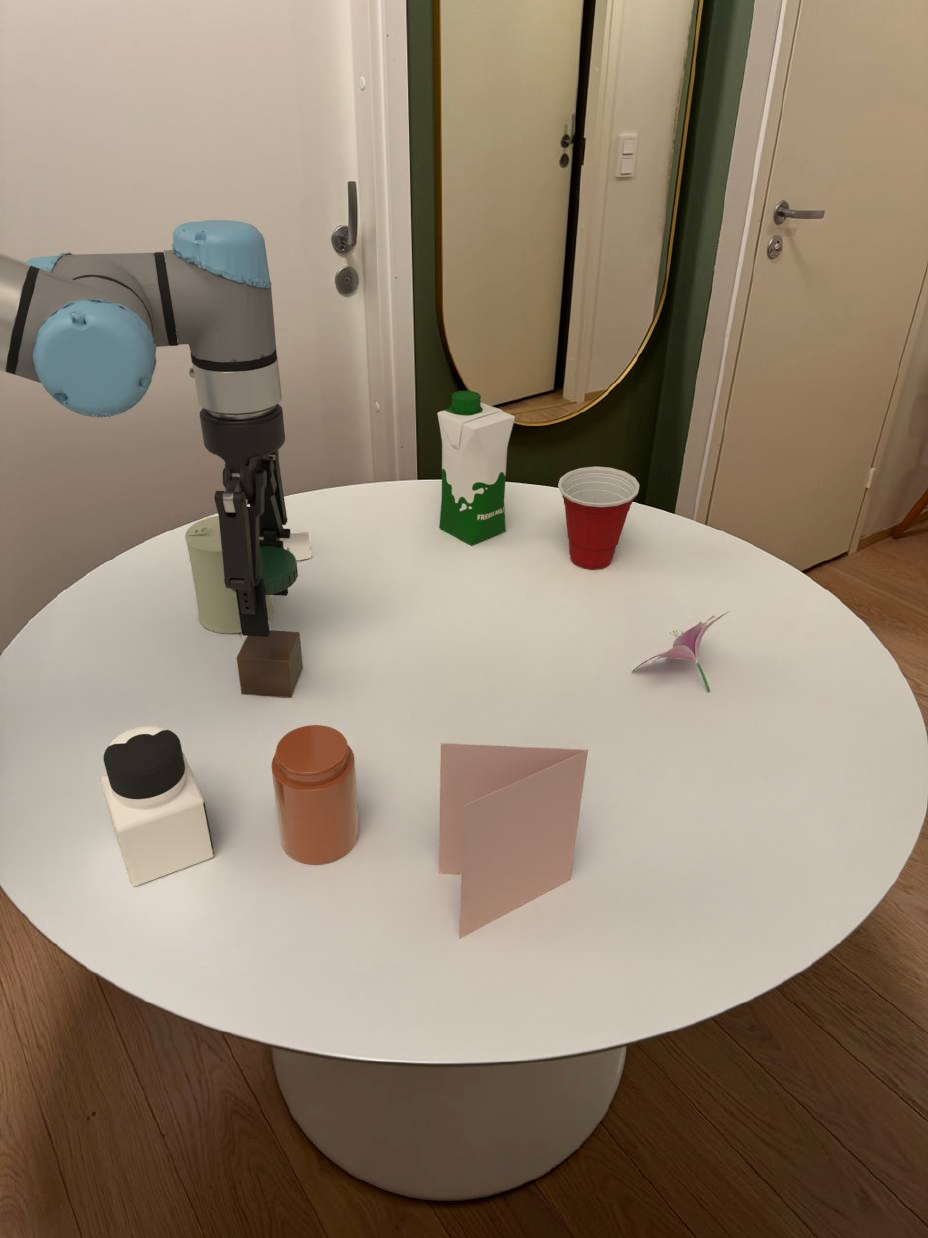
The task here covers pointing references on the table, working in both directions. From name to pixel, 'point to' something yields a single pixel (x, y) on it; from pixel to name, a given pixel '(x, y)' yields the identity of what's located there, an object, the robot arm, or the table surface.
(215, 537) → the can
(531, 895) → the greeting card
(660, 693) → the table surface
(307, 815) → the jar
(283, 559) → the lid
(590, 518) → the plastic cup
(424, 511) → the table surface
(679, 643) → the lily
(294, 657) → the riser
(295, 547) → the white curved plate
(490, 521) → the milk carton
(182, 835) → the medicine bottle
